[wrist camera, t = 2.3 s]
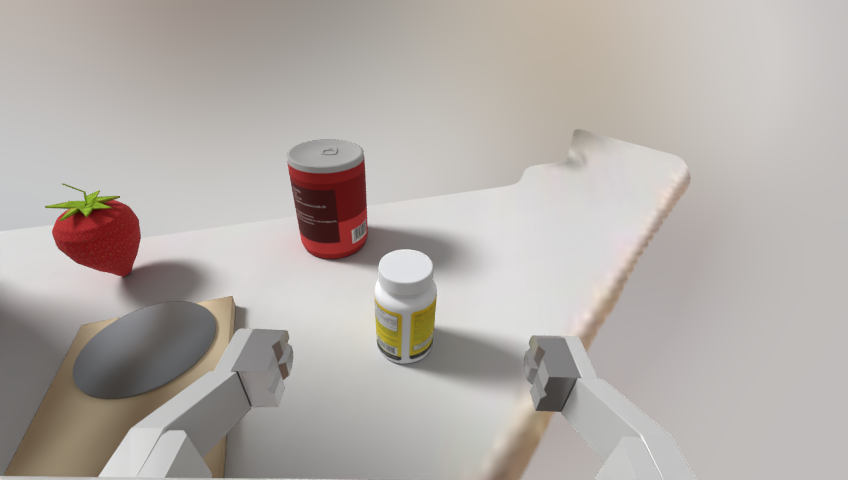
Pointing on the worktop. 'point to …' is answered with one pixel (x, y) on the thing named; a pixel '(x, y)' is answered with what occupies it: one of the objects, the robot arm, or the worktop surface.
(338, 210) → the canned food
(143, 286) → the worktop surface
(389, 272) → the supplement bottle
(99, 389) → the board
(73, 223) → the strawberry
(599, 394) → the robot arm
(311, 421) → the worktop surface
